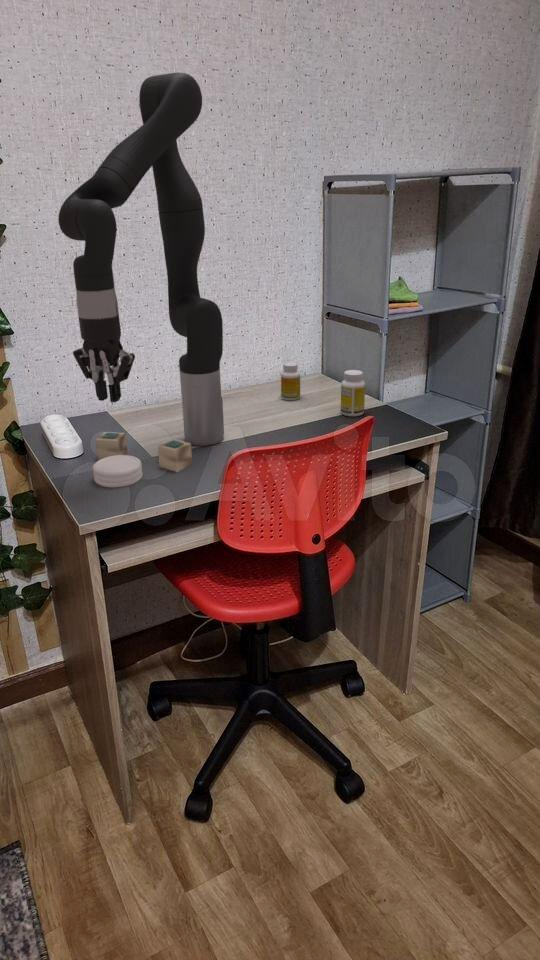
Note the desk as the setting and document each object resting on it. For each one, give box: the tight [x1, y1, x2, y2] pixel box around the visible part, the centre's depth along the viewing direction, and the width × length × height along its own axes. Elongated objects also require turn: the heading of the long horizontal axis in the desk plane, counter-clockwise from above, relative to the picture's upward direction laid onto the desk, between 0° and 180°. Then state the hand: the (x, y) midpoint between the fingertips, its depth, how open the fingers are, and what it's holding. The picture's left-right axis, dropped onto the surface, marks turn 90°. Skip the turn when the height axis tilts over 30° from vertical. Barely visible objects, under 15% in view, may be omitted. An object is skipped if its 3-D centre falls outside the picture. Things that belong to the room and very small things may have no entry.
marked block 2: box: [157, 438, 193, 473], centre depth 146 cm, size 5×5×5 cm
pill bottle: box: [340, 369, 366, 417], centre depth 174 cm, size 6×6×11 cm
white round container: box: [92, 454, 143, 488], centre depth 141 cm, size 10×10×4 cm
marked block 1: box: [95, 431, 129, 461], centre depth 151 cm, size 5×5×5 cm
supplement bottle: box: [280, 361, 301, 401], centre depth 187 cm, size 5×5×10 cm
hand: (109, 400), depth 135 cm, fingers open, 2 cm apart
